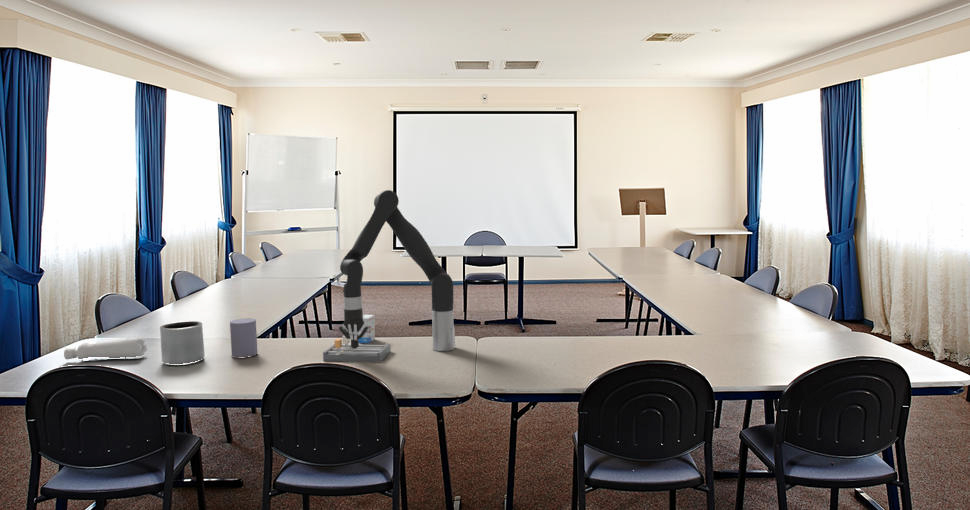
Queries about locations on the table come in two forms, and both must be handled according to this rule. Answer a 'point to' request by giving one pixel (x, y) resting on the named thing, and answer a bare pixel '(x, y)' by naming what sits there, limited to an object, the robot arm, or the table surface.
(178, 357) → the planter
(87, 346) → the bottle
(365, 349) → the console
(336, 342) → the fader front
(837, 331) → the table surface
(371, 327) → the ink box
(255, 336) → the container
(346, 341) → the fader rear
